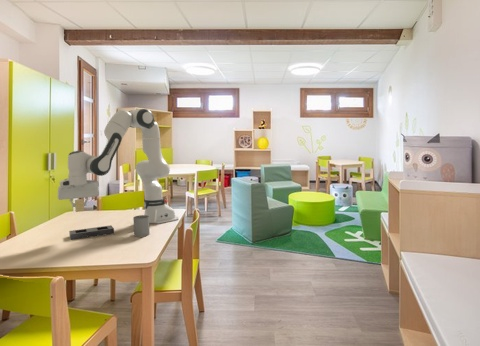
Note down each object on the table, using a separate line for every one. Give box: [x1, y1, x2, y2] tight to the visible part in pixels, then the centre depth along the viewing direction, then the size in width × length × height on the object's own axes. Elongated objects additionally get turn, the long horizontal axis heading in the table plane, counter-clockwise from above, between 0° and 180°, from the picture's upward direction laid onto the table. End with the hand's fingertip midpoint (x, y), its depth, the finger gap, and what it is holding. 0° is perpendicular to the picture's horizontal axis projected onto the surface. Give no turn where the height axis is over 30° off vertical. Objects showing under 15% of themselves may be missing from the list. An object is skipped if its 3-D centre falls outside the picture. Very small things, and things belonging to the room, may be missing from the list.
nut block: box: [74, 198, 85, 213], centre depth 185 cm, size 4×4×6 cm
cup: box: [132, 214, 151, 238], centre depth 189 cm, size 8×8×10 cm
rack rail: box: [68, 224, 115, 241], centre depth 189 cm, size 22×8×3 cm, turn 120°
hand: (79, 206), depth 185 cm, fingers closed on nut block, 4 cm apart
